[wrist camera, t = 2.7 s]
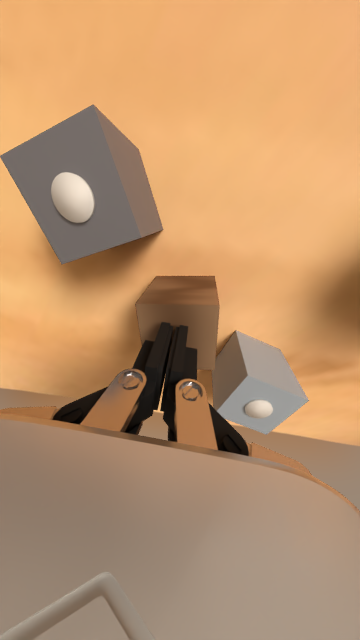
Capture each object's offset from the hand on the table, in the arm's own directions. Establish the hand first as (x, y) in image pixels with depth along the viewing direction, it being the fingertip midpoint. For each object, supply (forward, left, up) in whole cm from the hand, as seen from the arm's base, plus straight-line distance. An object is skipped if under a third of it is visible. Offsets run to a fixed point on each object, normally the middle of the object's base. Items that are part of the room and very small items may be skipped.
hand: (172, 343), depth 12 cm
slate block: (-7, +5, -7) cm, 11 cm away
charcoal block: (+6, -7, -7) cm, 11 cm away
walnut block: (0, 0, -7) cm, 7 cm away
